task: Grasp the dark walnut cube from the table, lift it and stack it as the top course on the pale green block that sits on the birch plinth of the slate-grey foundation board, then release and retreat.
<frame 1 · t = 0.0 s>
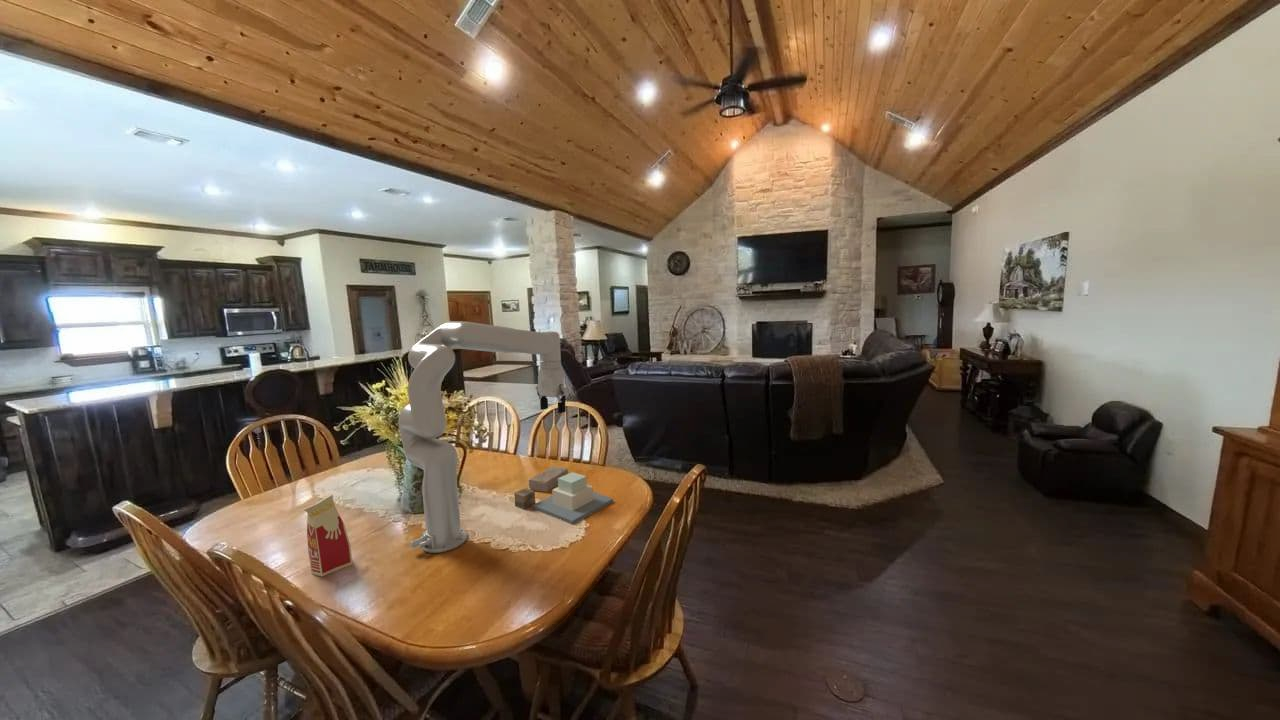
hand: (553, 410, 167), 31 cm above the table, fingers open, 9 cm apart
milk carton: (330, 566, 125), on the table
green block: (572, 488, 157), point 6 cm above the table, touching foundation
foundation: (573, 504, 158), on the table
brick: (549, 484, 178), on the table
walnut cube: (525, 505, 159), on the table
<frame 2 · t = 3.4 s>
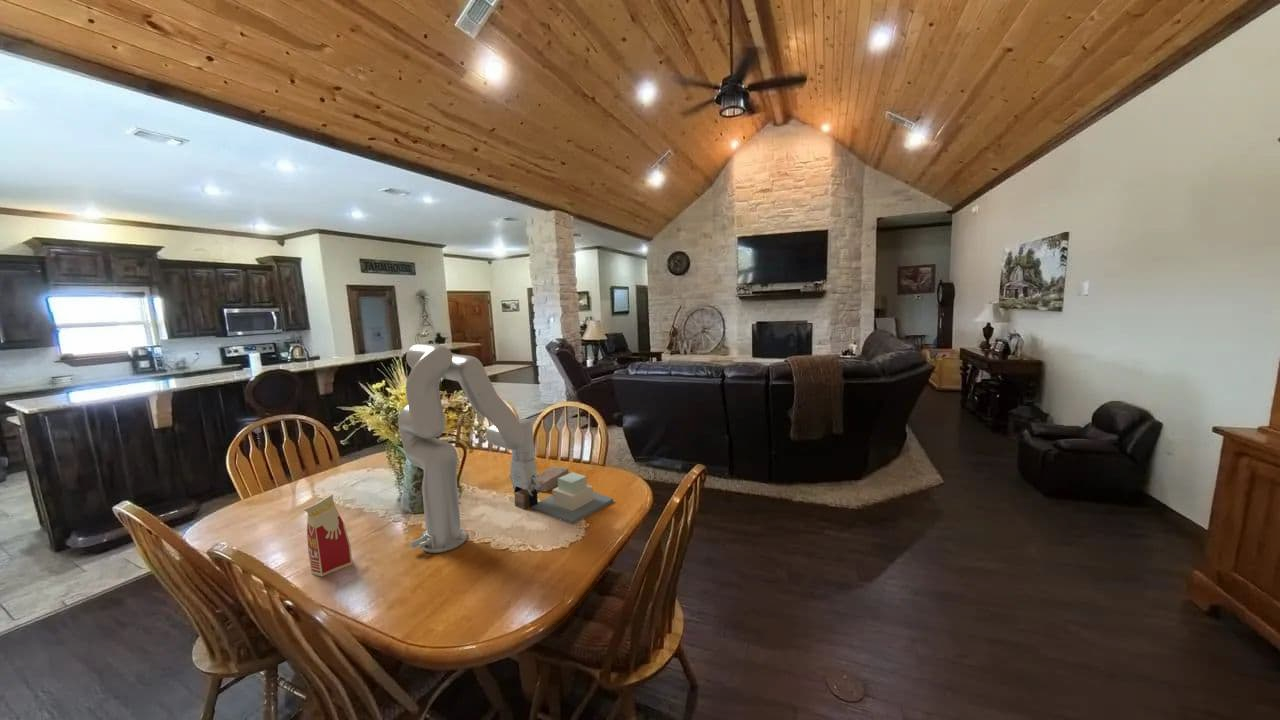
hand: (526, 502, 159), 1 cm above the table, fingers open, 7 cm apart
nothing on the table moved.
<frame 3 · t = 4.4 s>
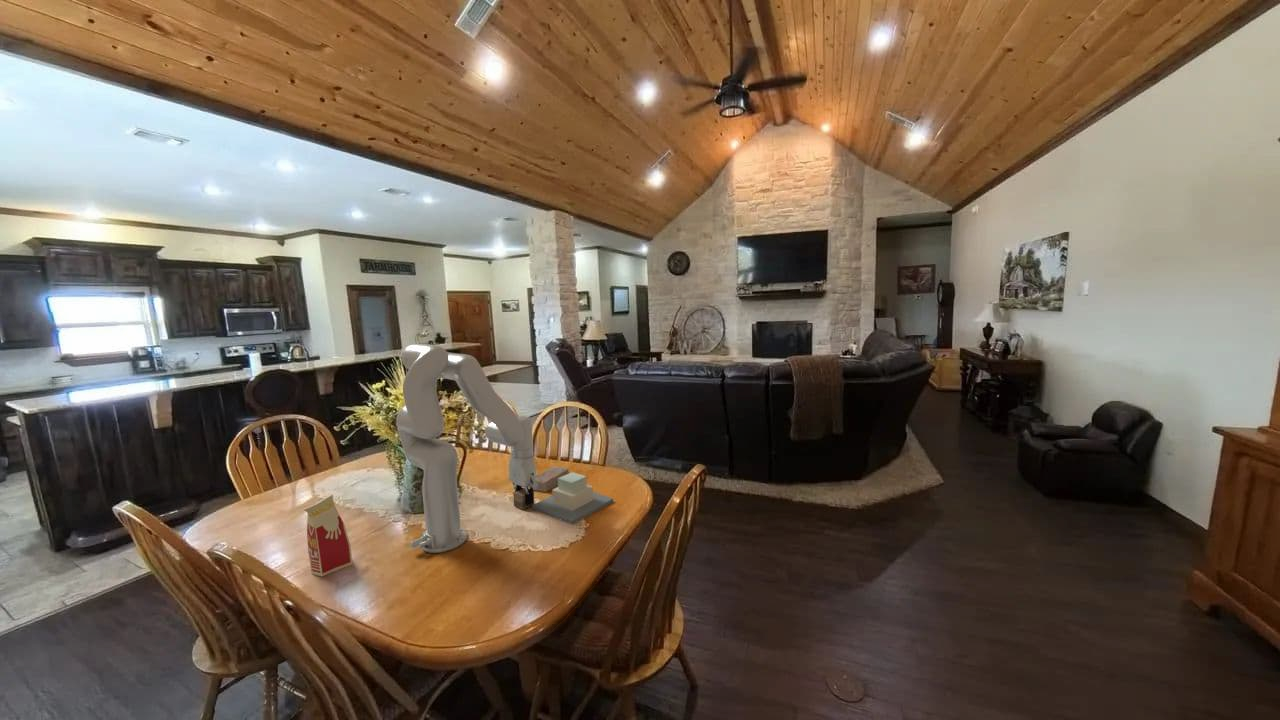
hand: (524, 501, 159), 2 cm above the table, fingers closed on walnut cube, 4 cm apart
walnut cube: (524, 505, 158), on the table, touching gripper
everything else where it was.
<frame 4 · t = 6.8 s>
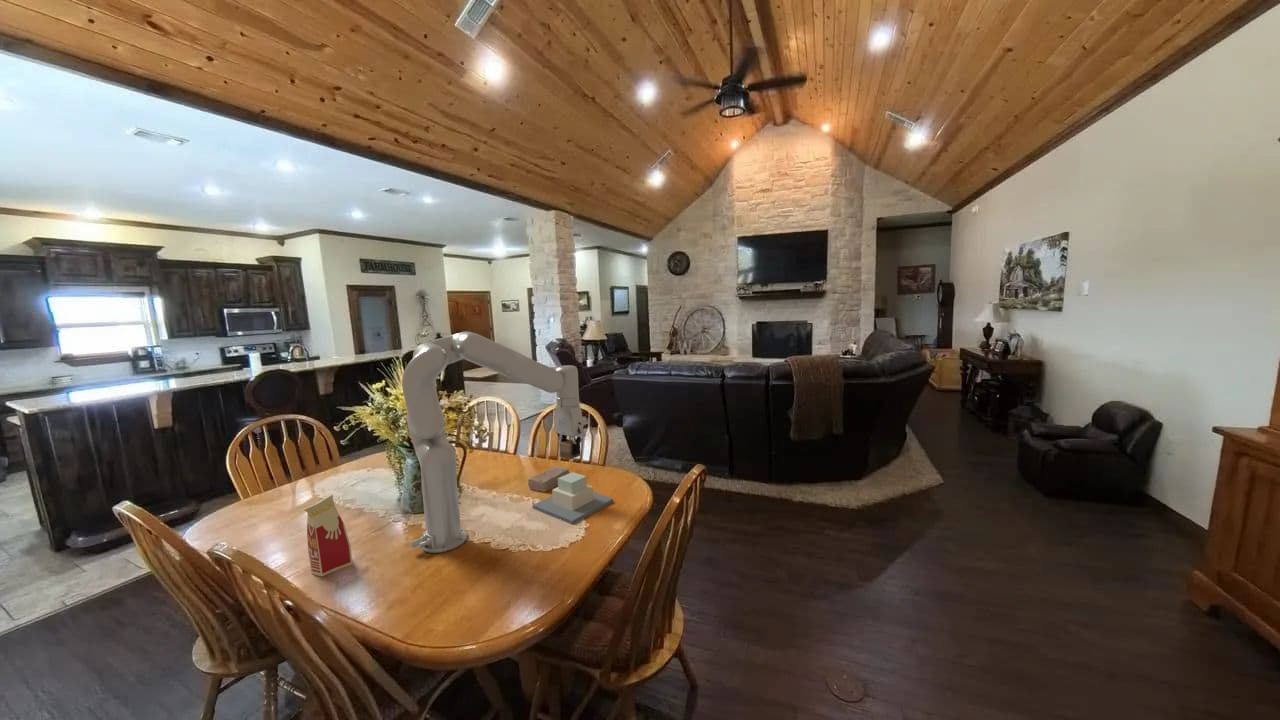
hand: (570, 452, 156), 19 cm above the table, fingers closed on walnut cube, 4 cm apart
walnut cube: (570, 456, 156), point 18 cm above the table, touching gripper
everything else where it was.
when the fingers open (12 cm above the table, at t = 8.9 s): walnut cube stays where it is, resting on green block.
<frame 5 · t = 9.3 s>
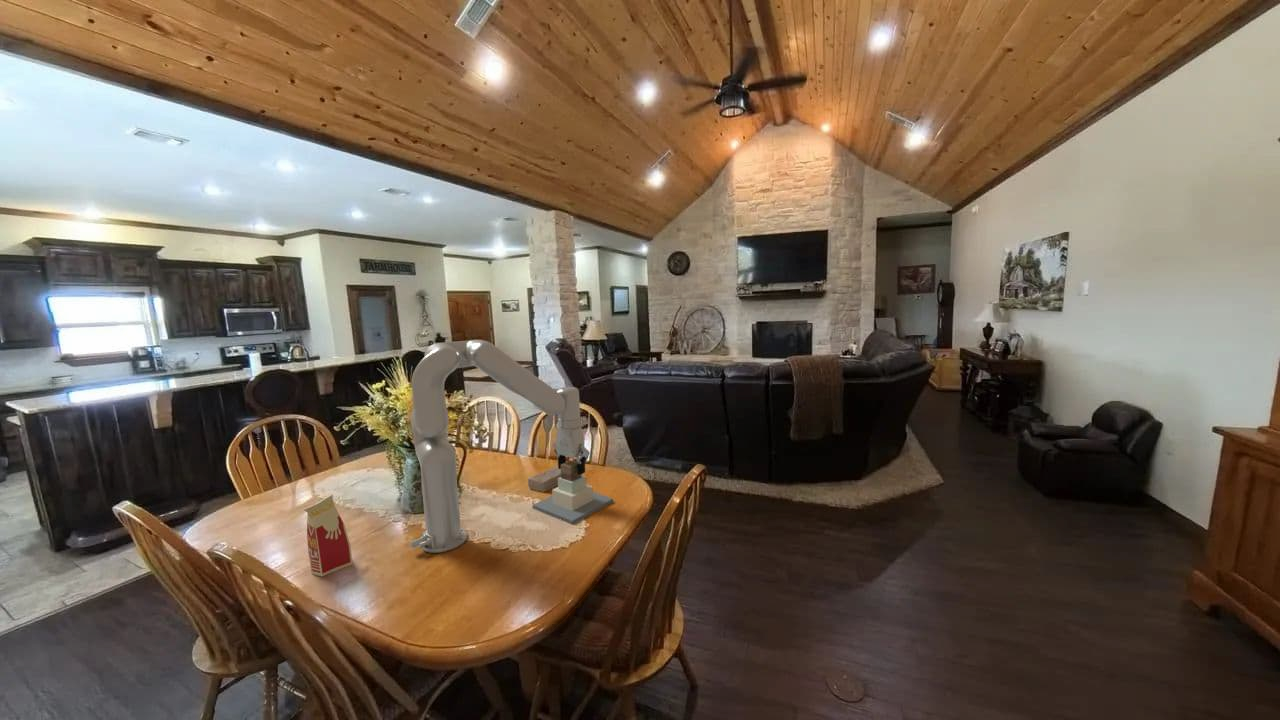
hand: (571, 470, 157), 13 cm above the table, fingers open, 9 cm apart
green block: (572, 488, 157), point 6 cm above the table, touching foundation, walnut cube
walnut cube: (571, 477, 157), point 10 cm above the table, touching green block
everything else where it was.
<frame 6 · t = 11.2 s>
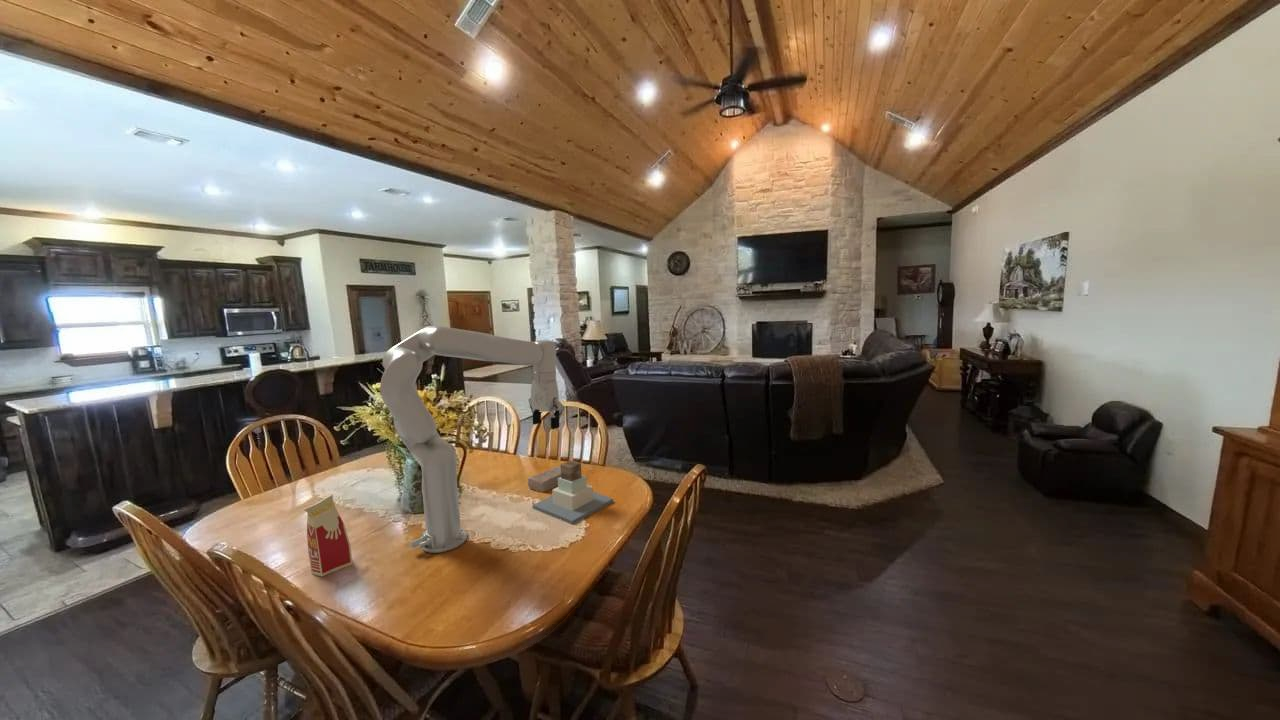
hand: (545, 425, 154), 29 cm above the table, fingers open, 9 cm apart
nothing on the table moved.
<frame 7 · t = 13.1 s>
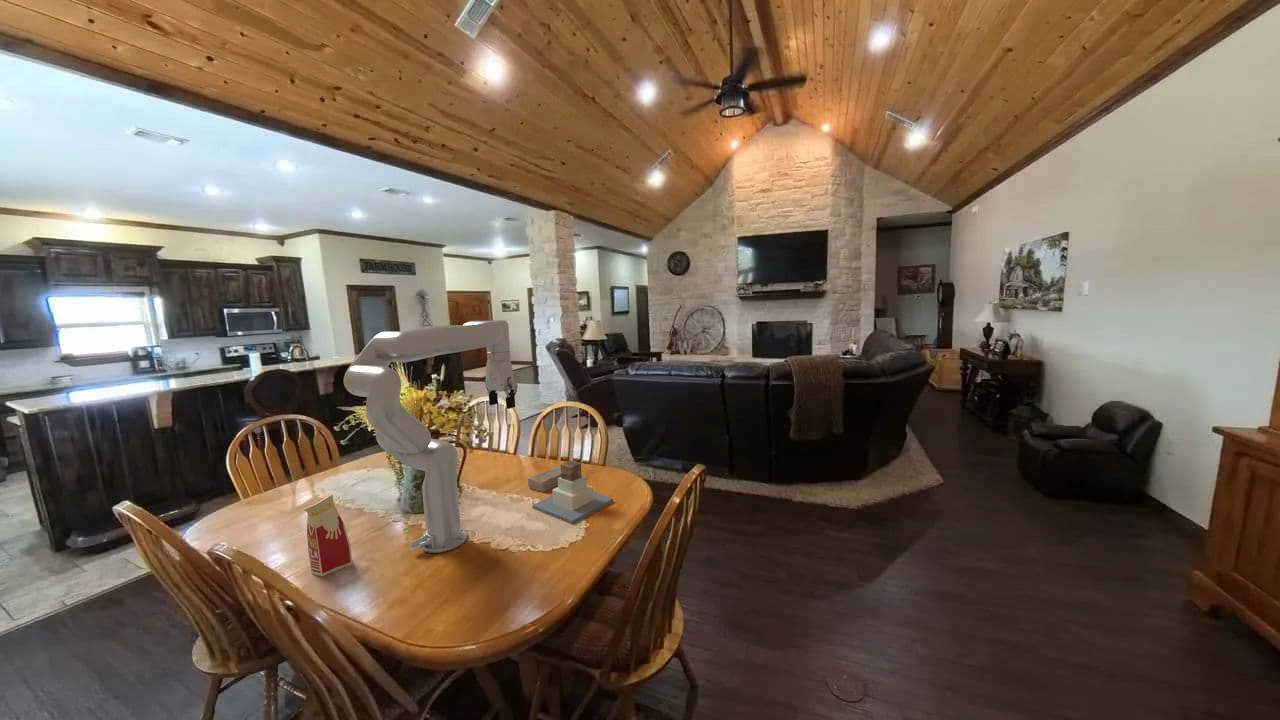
hand: (502, 406, 154), 36 cm above the table, fingers open, 9 cm apart
nothing on the table moved.
at the end: walnut cube inside the target area on the foundation (0.3 cm from its centre), point 10.2 cm above the foundation's base; walnut cube tilted 0°; the gripper is holding nothing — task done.
